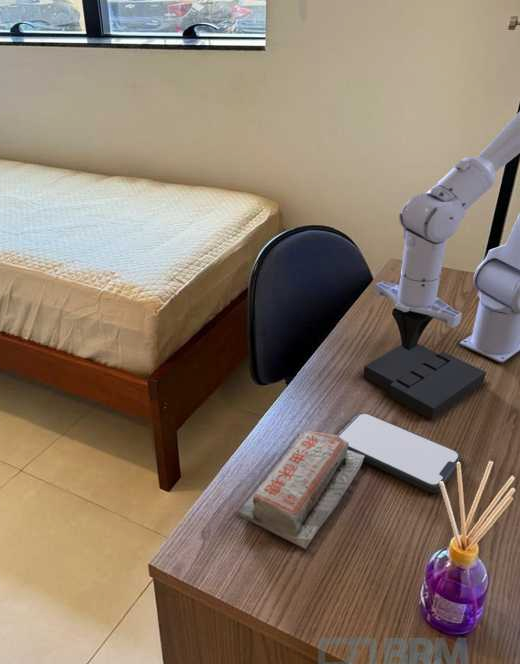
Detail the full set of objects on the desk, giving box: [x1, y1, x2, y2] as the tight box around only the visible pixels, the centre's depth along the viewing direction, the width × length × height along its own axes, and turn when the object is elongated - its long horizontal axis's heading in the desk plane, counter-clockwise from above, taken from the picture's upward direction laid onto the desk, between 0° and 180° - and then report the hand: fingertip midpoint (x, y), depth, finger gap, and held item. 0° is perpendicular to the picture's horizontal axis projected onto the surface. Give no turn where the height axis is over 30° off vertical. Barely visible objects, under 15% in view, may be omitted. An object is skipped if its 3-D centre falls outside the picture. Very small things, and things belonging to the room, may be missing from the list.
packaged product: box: [238, 430, 365, 550], centre depth 82 cm, size 18×5×10 cm
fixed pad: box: [388, 351, 487, 421], centre depth 99 cm, size 14×8×2 cm, turn 127°
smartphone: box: [336, 412, 462, 494], centre depth 88 cm, size 9×2×16 cm
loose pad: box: [362, 343, 447, 392], centre depth 103 cm, size 12×8×2 cm
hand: (409, 346), depth 101 cm, fingers closed
